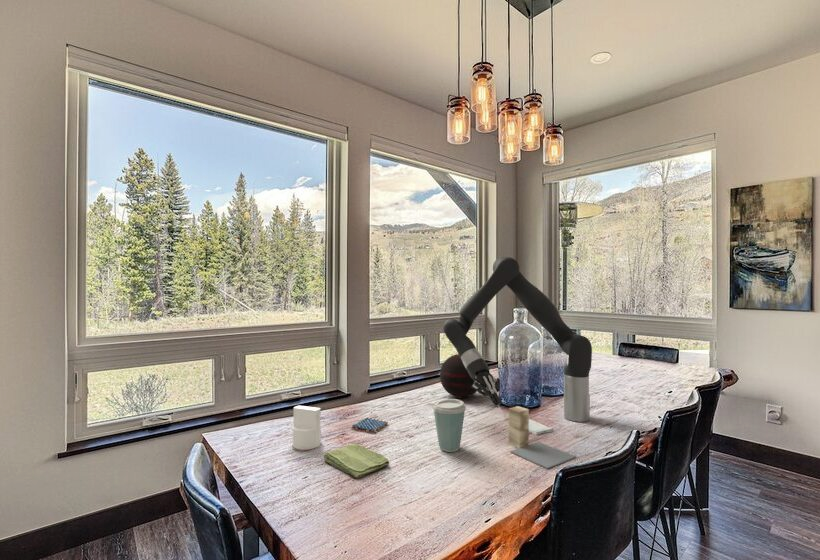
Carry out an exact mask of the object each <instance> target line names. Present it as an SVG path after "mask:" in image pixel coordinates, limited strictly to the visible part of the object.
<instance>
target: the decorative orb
mask: <svg viewBox="0 0 820 560" xmlns="http://www.w3.org/2000/svg"><path fill="white" fill-rule="evenodd" d="M439 378H440V379H439V380H440V383H441V385H442V388H443V389H444V390H445V392H446V393H448V394H449V395H451V396H453V397H455V398H459V399H460V398H461V399H465V398H469V397H471V396H473V395H475V394H476V393H478V392H477V391H476V390H475V389H473V388H472V385H473V384H474V379H472V378H471V376H470V375H469V373H468V371H467V369H466V368H465V366H464V364H463V362H462V359H461V357H460V356H459V354H458V353H457V354H456V353H455V354H454V355H451V356H449V357H448V358H447V359H445V361H444V362H443V363H442V365H441V367H440V371H439Z"/></svg>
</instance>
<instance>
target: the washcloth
mask: <svg viewBox="0 0 820 560" xmlns="http://www.w3.org/2000/svg"><path fill="white" fill-rule="evenodd" d="M323 457H324V458H323V459H324V461H325V462H326V463H327V464H330V465H331V466H333V467H335V468H336V469H339V470H341V471H342V472H345V473H347V474H349V475H351V476H352V477H354V478H356V479H359V478H361V477H363V476H365V475H367V474H370V473H372V472H373V473H374V472H375V471H377V470H379V469H381V468H383V467H385V466H388V465H389V464H390V461H389V459H388V458H387V457H385V456H384V455H383V454H381V453H378V452H376V451H374V450H371V449H369V448H367V447H366V446H365V445H364V446H363V445H361V444H359V443H352V444H348V445H346V446H343V447H342V448H336V449H332V450H329V451H326V452H325V453H324V455H323Z"/></svg>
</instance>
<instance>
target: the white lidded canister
mask: <svg viewBox="0 0 820 560" xmlns="http://www.w3.org/2000/svg"><path fill="white" fill-rule="evenodd" d="M321 413H322V412H321V407H314V406H306V405H296V406H294V407H293V426H292V447H293V448H294V449H296V450H302V451H303V450H311V449H314V448H318V447H319V446H320V445H321V444H322V441H321V440H322V439H321V437H322V435H321V434H322V431H321V430H322V424H321V416H322V415H321Z"/></svg>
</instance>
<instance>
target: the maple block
mask: <svg viewBox="0 0 820 560" xmlns="http://www.w3.org/2000/svg"><path fill="white" fill-rule="evenodd" d="M529 411H530V410H529V409H528V408H525V407H521V406H518V405H516V406H513V407H509V408H508V445H509V444H510V446H512V447H514V446H515V447H514V448H516V447H517V448H516V449H518V448H521V447H524V446H527V445H530V444H529V441H530V440H529V433H530V432H529V419H530V414H529V413H530V412H529Z"/></svg>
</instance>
